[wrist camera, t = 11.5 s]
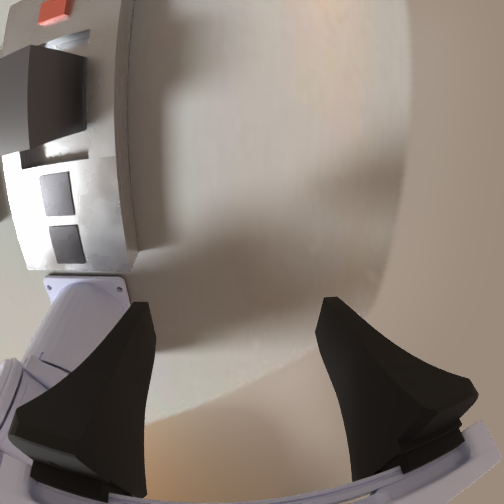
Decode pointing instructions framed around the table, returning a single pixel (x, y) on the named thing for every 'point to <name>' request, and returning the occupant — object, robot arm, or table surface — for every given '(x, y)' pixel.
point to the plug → (39, 97)
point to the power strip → (77, 143)
